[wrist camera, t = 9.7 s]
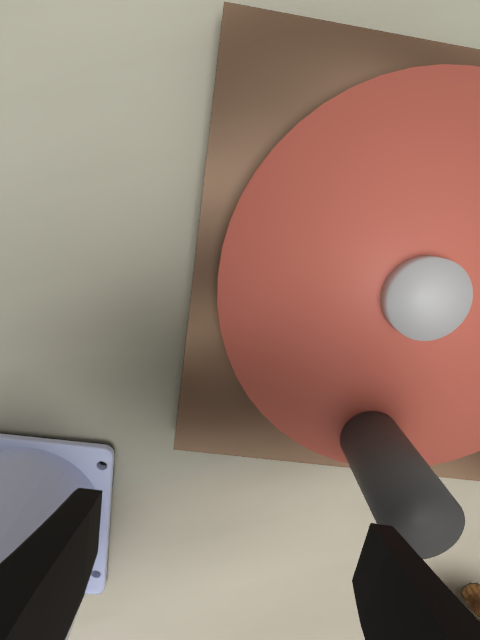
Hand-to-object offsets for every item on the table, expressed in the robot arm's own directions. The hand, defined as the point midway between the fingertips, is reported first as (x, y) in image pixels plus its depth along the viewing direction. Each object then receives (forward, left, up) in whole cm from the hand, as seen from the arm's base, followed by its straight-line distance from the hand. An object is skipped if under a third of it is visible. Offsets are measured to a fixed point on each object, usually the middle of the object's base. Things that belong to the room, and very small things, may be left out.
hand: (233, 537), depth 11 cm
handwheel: (+6, -7, -7) cm, 12 cm away
